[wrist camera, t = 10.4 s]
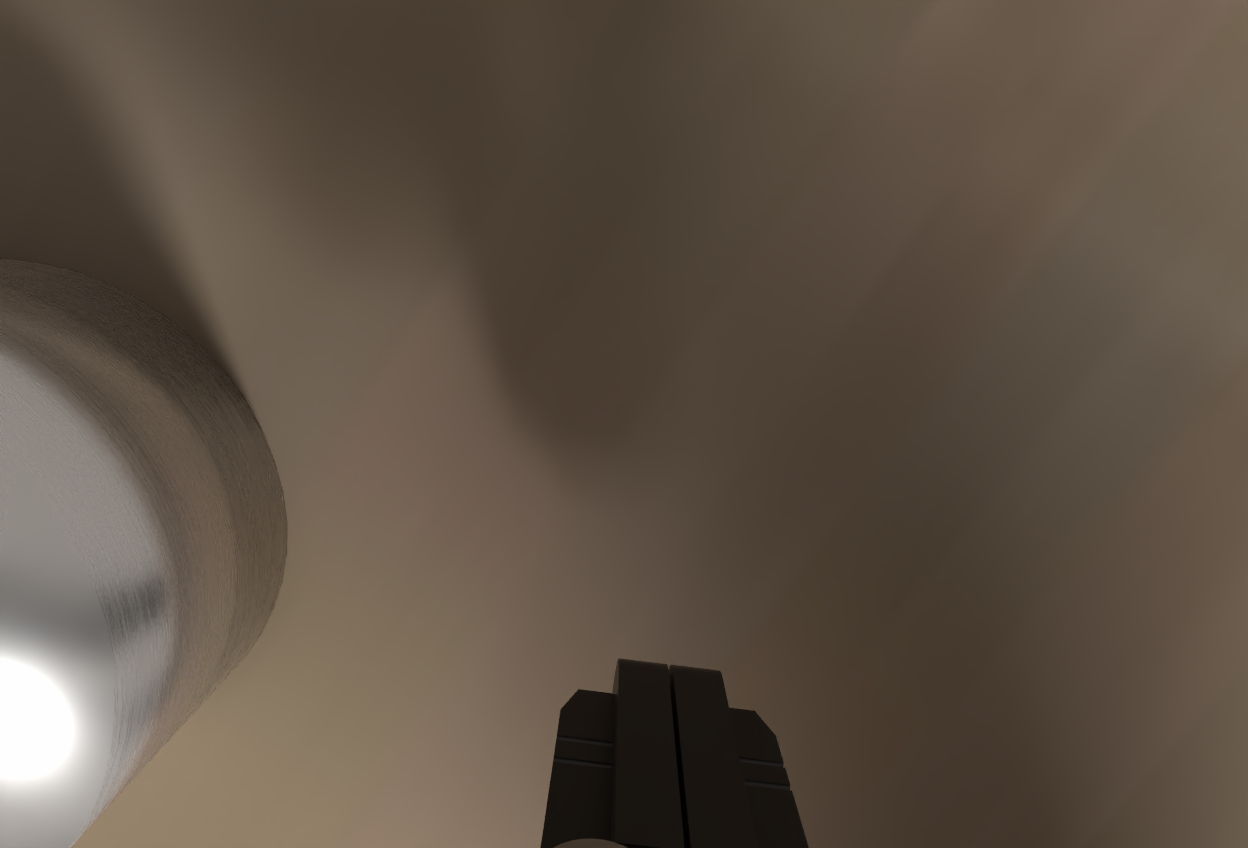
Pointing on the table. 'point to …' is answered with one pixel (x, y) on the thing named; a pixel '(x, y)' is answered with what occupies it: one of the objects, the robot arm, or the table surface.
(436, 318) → the table surface
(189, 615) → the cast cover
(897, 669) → the table surface
